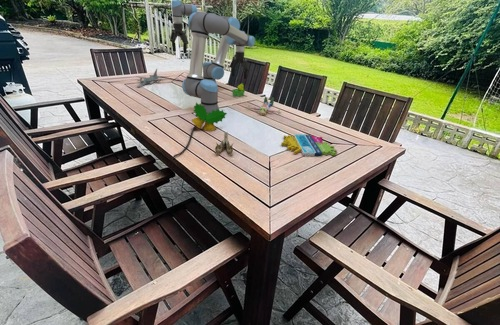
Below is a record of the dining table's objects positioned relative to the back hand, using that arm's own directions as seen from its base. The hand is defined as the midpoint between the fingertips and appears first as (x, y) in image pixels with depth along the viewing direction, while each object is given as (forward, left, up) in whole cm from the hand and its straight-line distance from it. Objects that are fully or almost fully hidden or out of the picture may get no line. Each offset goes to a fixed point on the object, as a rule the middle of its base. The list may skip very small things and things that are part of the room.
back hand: (179, 52), depth 216 cm
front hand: (+36, +35, -18) cm, 53 cm away
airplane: (-48, -3, -34) cm, 59 cm away
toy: (+77, +22, -34) cm, 87 cm away
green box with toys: (+36, +35, -34) cm, 61 cm away
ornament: (+78, -38, -34) cm, 93 cm away
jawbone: (+107, -53, -34) cm, 124 cm away
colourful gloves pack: (+134, -13, -34) cm, 139 cm away
